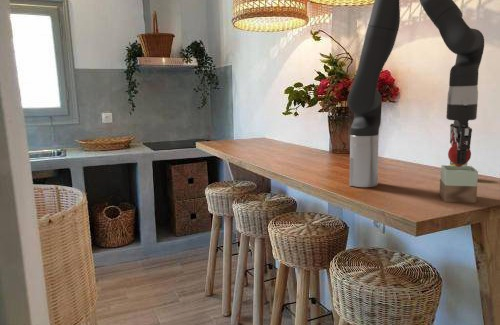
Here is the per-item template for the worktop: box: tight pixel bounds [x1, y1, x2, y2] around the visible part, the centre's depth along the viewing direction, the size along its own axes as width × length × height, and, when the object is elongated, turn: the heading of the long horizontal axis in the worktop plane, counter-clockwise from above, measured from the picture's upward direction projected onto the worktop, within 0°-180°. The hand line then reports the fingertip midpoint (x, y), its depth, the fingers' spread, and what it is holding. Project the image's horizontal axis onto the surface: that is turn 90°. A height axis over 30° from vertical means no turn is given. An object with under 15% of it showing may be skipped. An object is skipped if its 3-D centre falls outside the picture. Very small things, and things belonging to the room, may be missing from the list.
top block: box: [440, 164, 479, 187], centre depth 114 cm, size 8×8×4 cm
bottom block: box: [438, 178, 478, 204], centre depth 115 cm, size 8×8×5 cm
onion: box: [447, 143, 472, 167], centre depth 113 cm, size 6×6×8 cm
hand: (458, 161), depth 114 cm, fingers closed on onion, 5 cm apart
